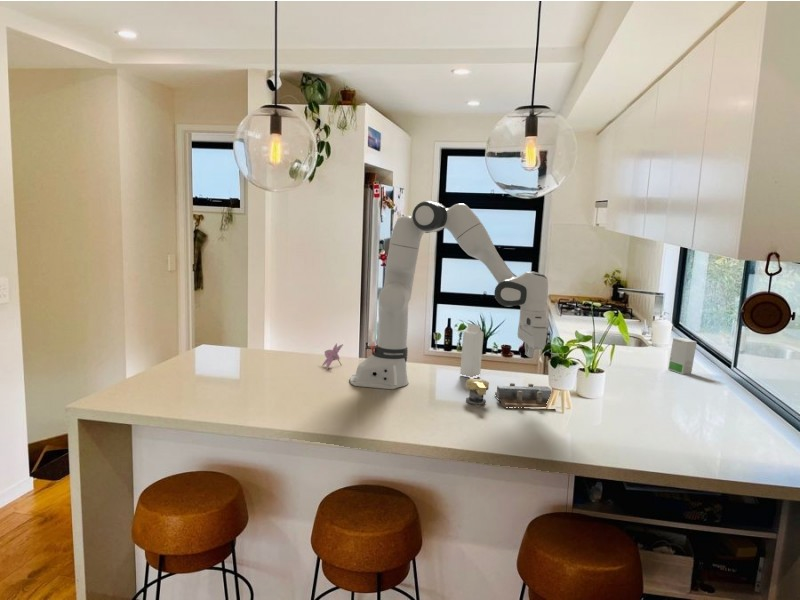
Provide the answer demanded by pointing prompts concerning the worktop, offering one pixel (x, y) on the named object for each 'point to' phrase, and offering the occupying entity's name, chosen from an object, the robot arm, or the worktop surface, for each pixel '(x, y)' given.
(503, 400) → the peg rack
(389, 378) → the robot arm
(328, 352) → the lily
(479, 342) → the milk
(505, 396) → the grey rectangular bar
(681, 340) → the skincare box
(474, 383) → the gold crumpled flat piece
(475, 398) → the post
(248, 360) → the worktop surface
